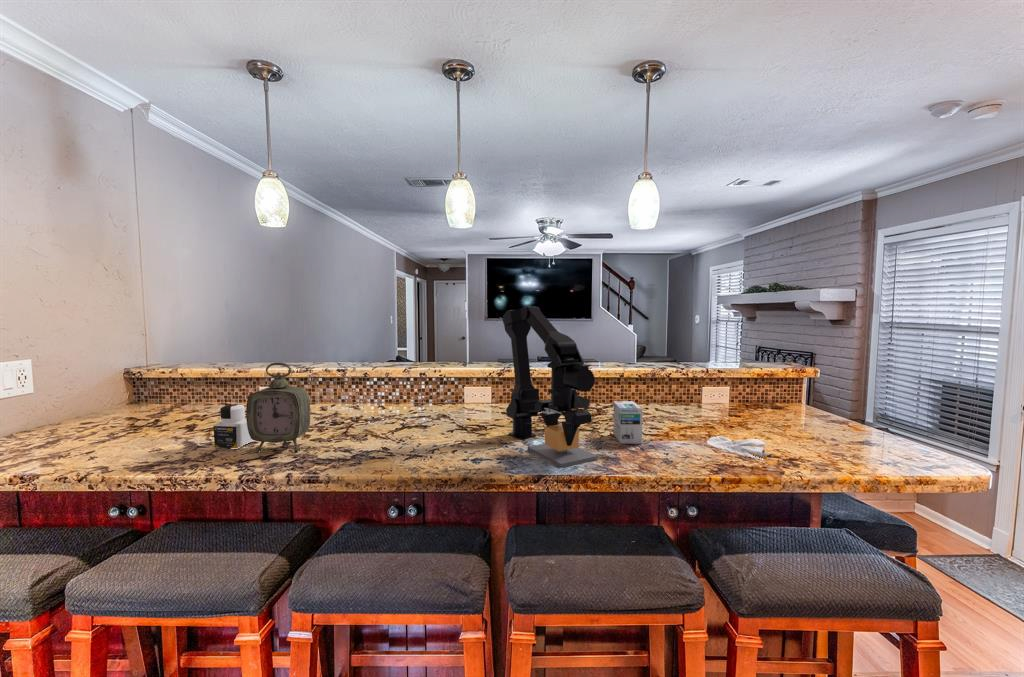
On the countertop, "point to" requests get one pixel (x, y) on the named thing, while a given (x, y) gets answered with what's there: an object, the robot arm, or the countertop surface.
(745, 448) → the cloth
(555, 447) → the tan wooden cube
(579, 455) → the post board
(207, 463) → the countertop surface
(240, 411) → the medicine bottle
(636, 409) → the light bulb box
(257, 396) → the tabletop clock
